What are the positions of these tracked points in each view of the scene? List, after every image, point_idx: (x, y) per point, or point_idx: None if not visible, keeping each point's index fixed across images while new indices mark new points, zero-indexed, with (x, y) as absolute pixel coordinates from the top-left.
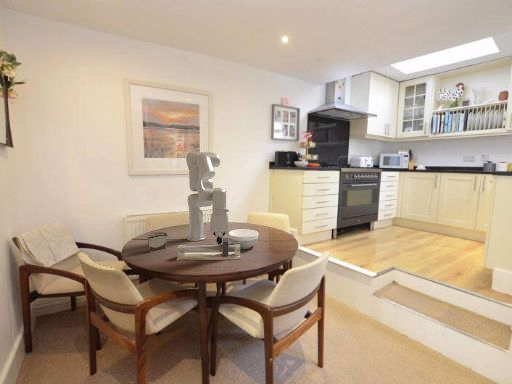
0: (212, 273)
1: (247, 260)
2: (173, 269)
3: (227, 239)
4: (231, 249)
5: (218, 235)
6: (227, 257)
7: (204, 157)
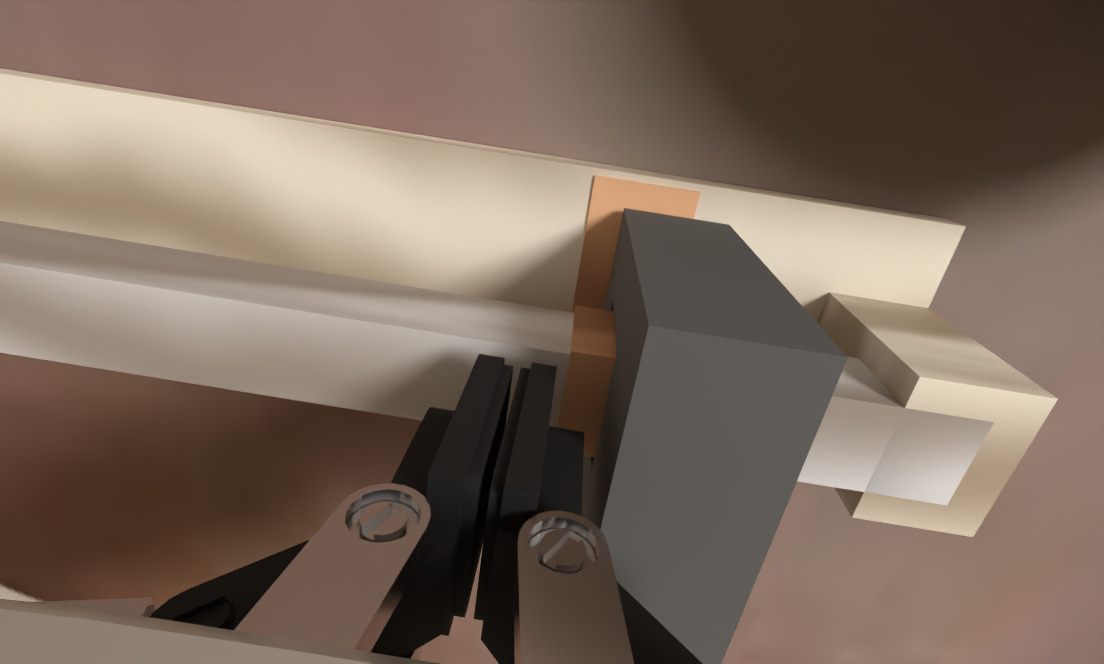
0: None
1: None
2: (28, 547)
3: (759, 500)
4: None
5: (430, 573)
6: None
7: None
